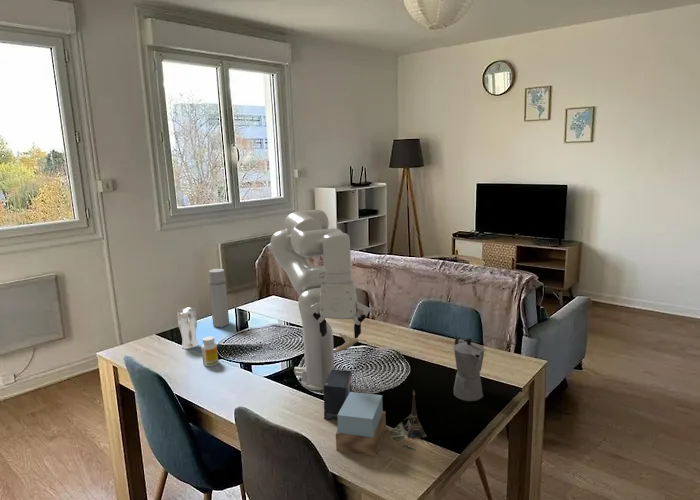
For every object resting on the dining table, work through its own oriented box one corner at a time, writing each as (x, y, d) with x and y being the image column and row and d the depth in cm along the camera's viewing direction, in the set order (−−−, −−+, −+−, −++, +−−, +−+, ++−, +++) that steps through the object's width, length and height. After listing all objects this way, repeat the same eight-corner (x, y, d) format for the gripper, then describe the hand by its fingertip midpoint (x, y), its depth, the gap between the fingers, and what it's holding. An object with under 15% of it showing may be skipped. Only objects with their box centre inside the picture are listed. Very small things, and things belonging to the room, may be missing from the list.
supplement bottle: (221, 361, 178) (219, 336, 176) (211, 367, 173) (209, 342, 171) (210, 359, 180) (207, 334, 178) (200, 365, 175) (197, 340, 173)
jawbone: (360, 339, 196) (360, 334, 196) (348, 361, 177) (348, 356, 177) (338, 336, 198) (338, 331, 198) (324, 358, 179) (324, 353, 178)
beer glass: (177, 348, 191) (172, 312, 188) (189, 341, 198) (185, 306, 195) (191, 350, 189) (187, 313, 186) (202, 343, 195) (199, 308, 192)
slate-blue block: (338, 433, 122) (337, 415, 121) (350, 408, 133) (350, 391, 132) (373, 437, 120) (372, 419, 119) (382, 412, 131) (382, 395, 130)
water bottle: (228, 327, 212) (222, 272, 207) (210, 328, 212) (204, 272, 207) (233, 320, 221) (228, 267, 216) (216, 320, 221) (211, 267, 216)
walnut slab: (336, 451, 123) (335, 433, 122) (350, 423, 135) (350, 407, 134) (375, 457, 120) (374, 439, 119) (385, 428, 132) (385, 411, 131)
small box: (346, 421, 136) (344, 386, 134) (323, 419, 137) (321, 385, 135) (353, 402, 146) (352, 369, 144) (332, 400, 147) (330, 368, 145)
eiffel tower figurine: (410, 415, 139) (410, 371, 136) (443, 426, 133) (443, 380, 130) (381, 440, 127) (380, 393, 125) (415, 453, 121) (415, 404, 119)
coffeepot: (493, 402, 143) (494, 345, 139) (463, 407, 141) (464, 349, 137) (469, 379, 158) (469, 326, 154) (442, 383, 156) (442, 330, 152)
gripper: (303, 280, 133) (307, 339, 136) (365, 281, 129) (367, 342, 132) (312, 273, 140) (315, 329, 143) (371, 274, 136) (372, 332, 139)
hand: (340, 335), depth 138 cm, fingers open, 9 cm apart
